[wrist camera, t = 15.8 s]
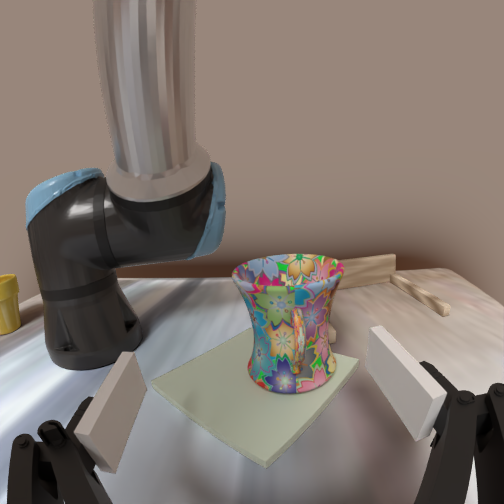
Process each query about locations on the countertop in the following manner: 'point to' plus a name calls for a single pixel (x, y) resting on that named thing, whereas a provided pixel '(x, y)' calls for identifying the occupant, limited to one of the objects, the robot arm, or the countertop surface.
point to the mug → (290, 319)
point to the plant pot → (9, 304)
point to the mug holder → (380, 272)
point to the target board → (246, 400)
